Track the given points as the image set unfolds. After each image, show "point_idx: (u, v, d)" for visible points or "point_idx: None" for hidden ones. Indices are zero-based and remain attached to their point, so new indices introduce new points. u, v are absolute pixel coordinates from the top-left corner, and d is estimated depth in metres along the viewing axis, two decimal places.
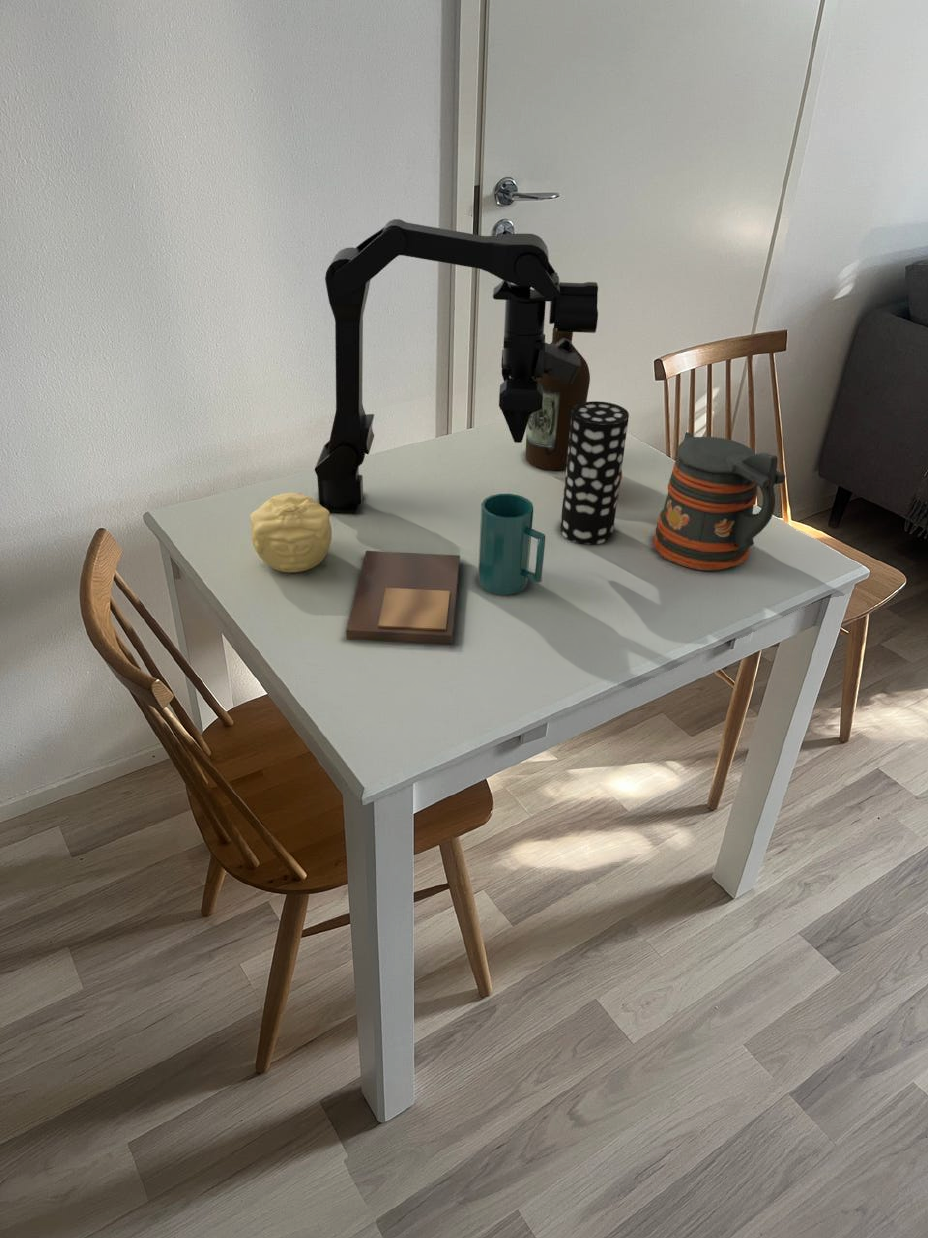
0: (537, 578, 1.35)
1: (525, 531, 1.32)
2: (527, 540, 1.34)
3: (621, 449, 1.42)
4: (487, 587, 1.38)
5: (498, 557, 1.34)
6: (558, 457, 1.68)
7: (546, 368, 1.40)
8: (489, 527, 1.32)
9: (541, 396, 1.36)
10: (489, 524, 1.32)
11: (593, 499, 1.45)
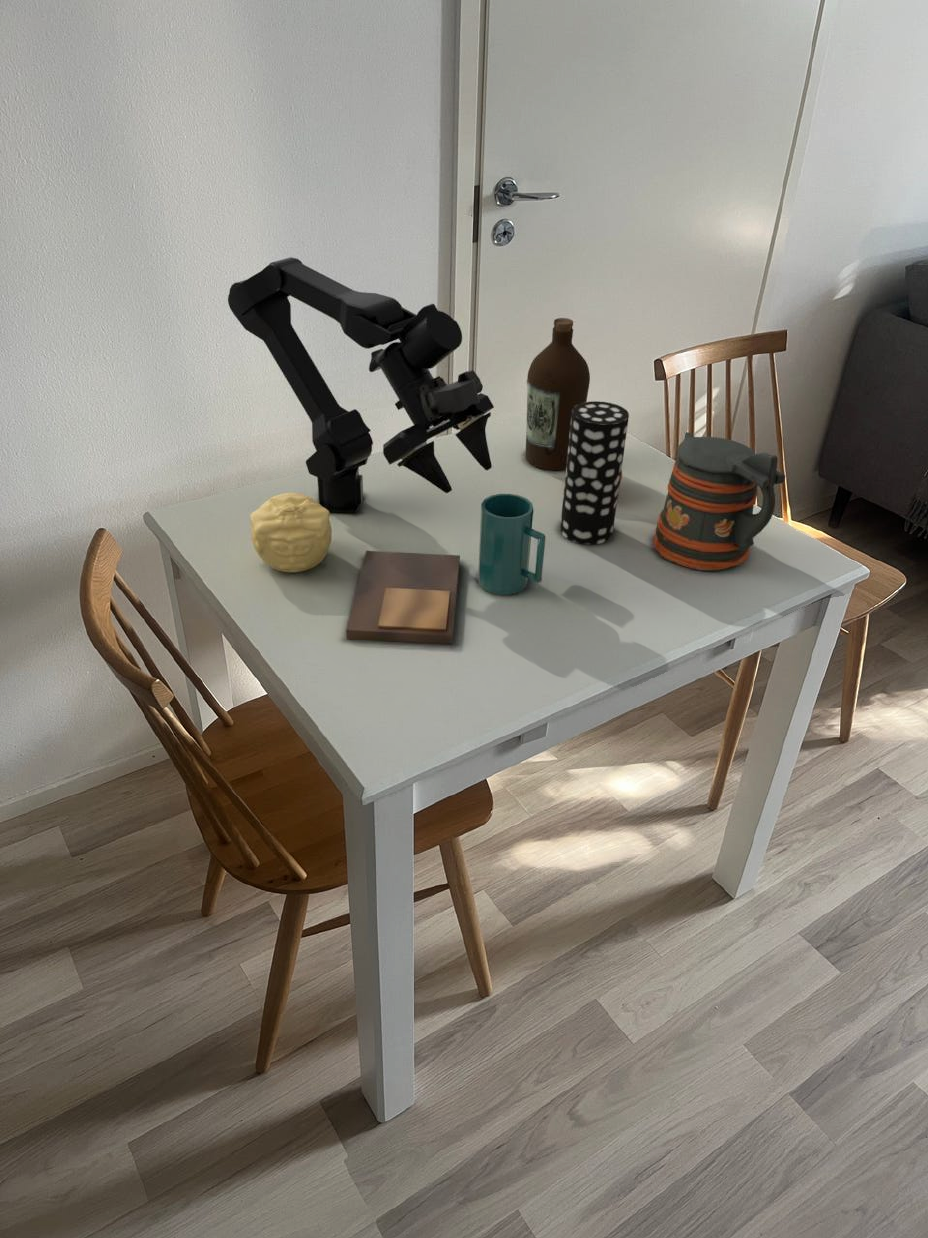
0: (537, 578, 1.35)
1: (525, 531, 1.32)
2: (527, 540, 1.34)
3: (621, 449, 1.42)
4: (487, 587, 1.38)
5: (498, 557, 1.34)
6: (558, 457, 1.68)
7: (432, 407, 1.31)
8: (489, 527, 1.32)
9: (406, 435, 1.28)
10: (489, 524, 1.32)
11: (593, 499, 1.45)
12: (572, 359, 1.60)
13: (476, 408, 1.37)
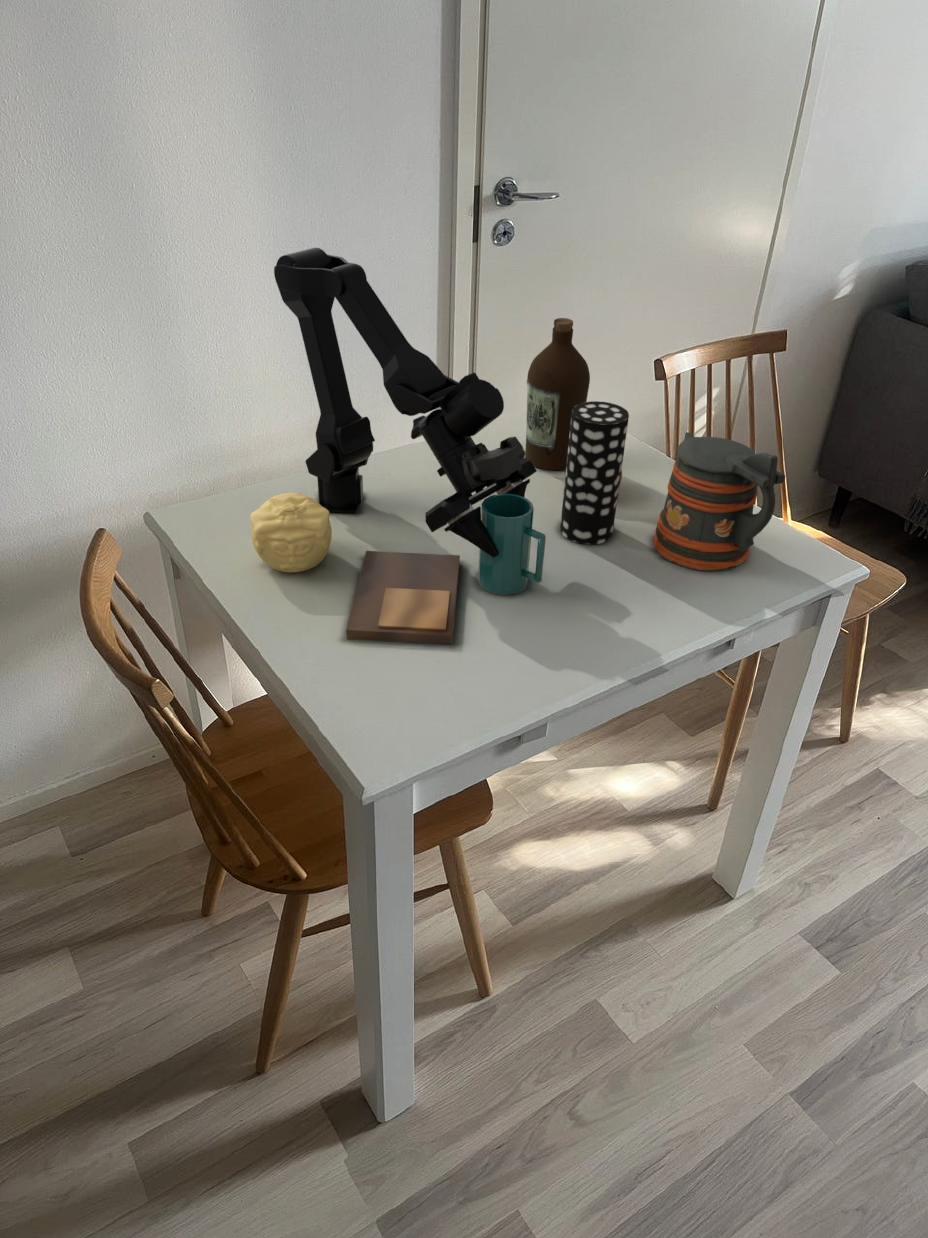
0: (537, 578, 1.35)
1: (525, 531, 1.32)
2: (527, 540, 1.34)
3: (621, 449, 1.42)
4: (488, 587, 1.38)
5: (498, 557, 1.34)
6: (558, 457, 1.68)
7: (474, 475, 1.31)
8: (489, 527, 1.32)
9: (448, 504, 1.27)
10: (489, 524, 1.32)
11: (593, 499, 1.45)
12: (572, 359, 1.60)
13: (519, 473, 1.36)
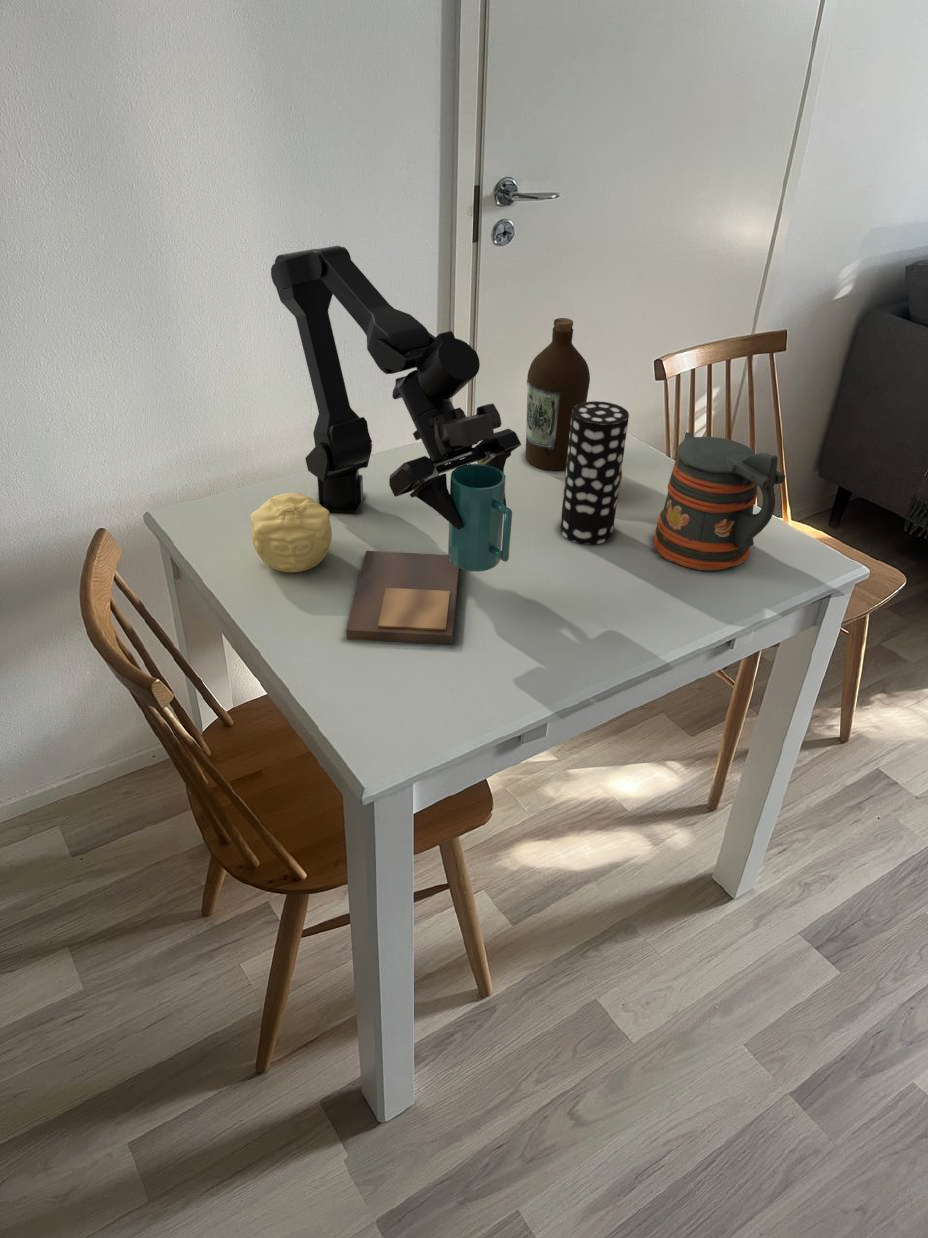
0: (503, 556, 1.26)
1: (493, 504, 1.24)
2: (496, 515, 1.26)
3: (621, 449, 1.42)
4: (454, 561, 1.30)
5: (464, 530, 1.26)
6: (558, 457, 1.68)
7: (443, 440, 1.24)
8: (455, 497, 1.25)
9: (408, 467, 1.21)
10: (455, 493, 1.25)
11: (593, 499, 1.45)
12: (572, 359, 1.60)
13: (498, 444, 1.28)
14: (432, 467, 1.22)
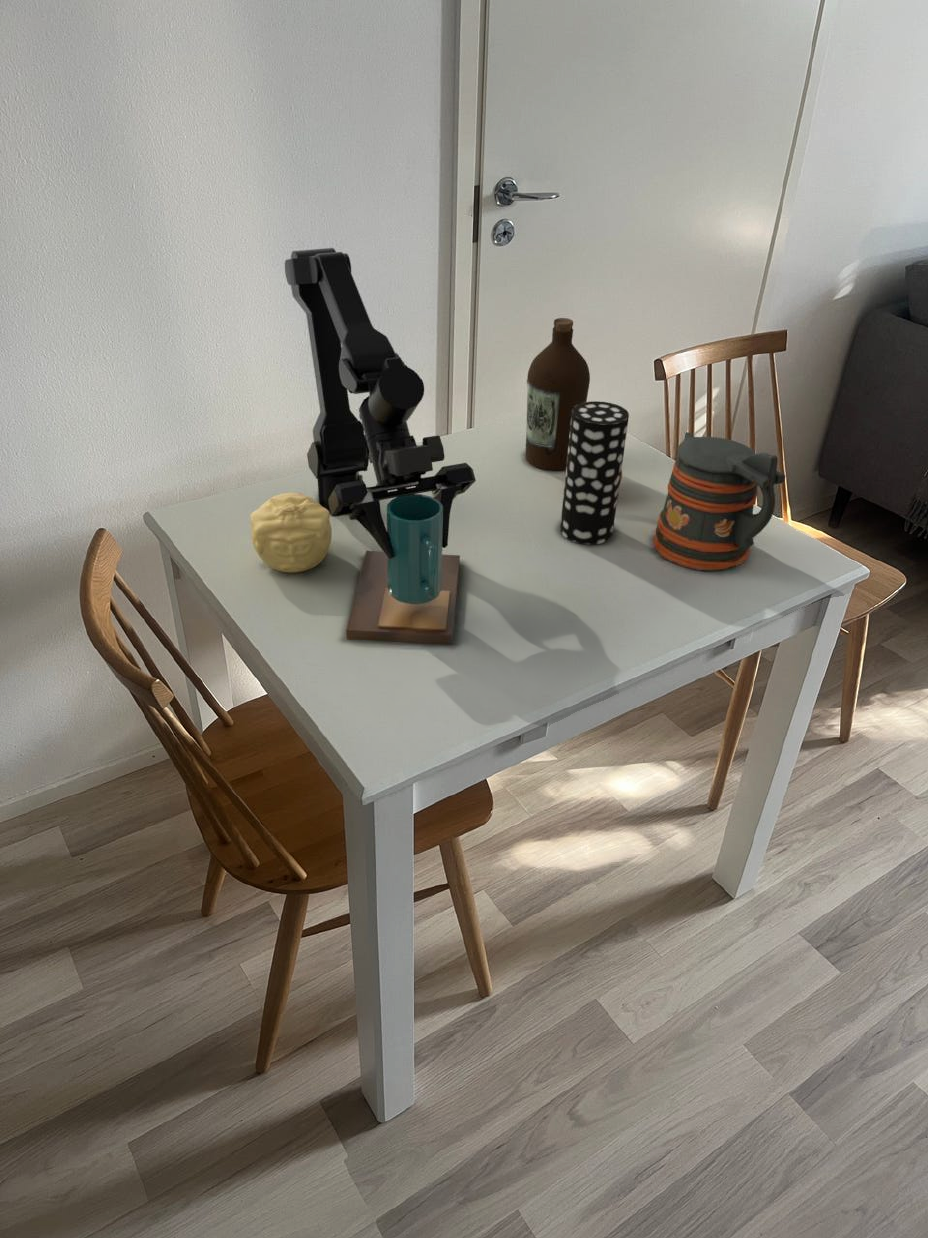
0: (429, 593, 1.23)
1: (422, 538, 1.21)
2: (427, 549, 1.22)
3: (621, 449, 1.42)
4: (389, 590, 1.28)
5: (395, 560, 1.24)
6: (558, 457, 1.68)
7: (383, 466, 1.22)
8: (388, 525, 1.22)
9: (338, 489, 1.20)
10: (388, 522, 1.22)
11: (593, 499, 1.45)
12: (572, 359, 1.60)
13: (447, 477, 1.25)
14: (365, 492, 1.21)
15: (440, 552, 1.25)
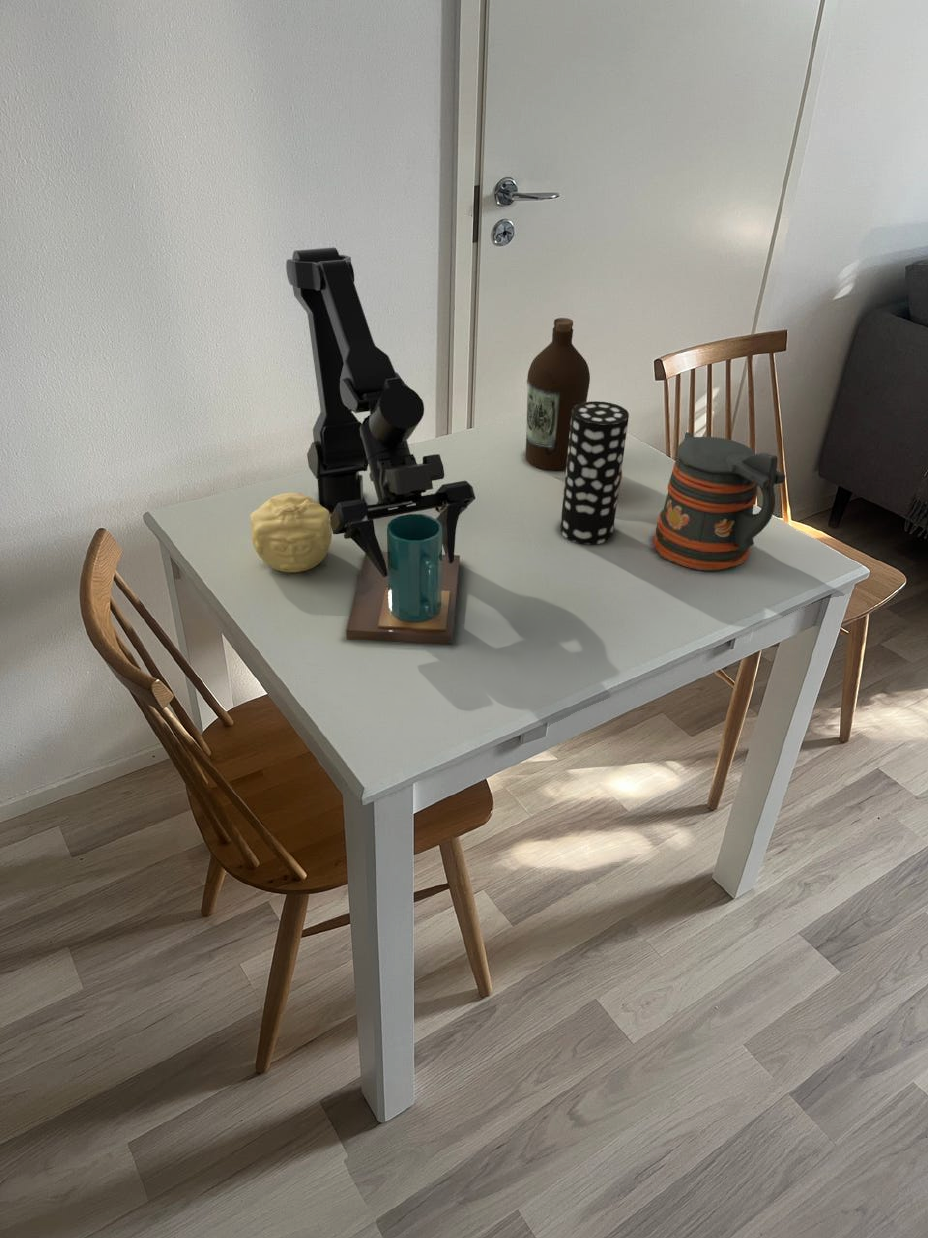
0: (429, 611, 1.24)
1: (421, 558, 1.22)
2: (427, 569, 1.24)
3: (621, 449, 1.42)
4: (390, 608, 1.30)
5: (395, 579, 1.25)
6: (558, 457, 1.68)
7: (383, 485, 1.23)
8: (388, 545, 1.24)
9: (340, 508, 1.21)
10: (388, 542, 1.24)
11: (593, 499, 1.45)
12: (572, 359, 1.60)
13: (447, 495, 1.26)
14: (366, 510, 1.22)
15: (440, 571, 1.26)
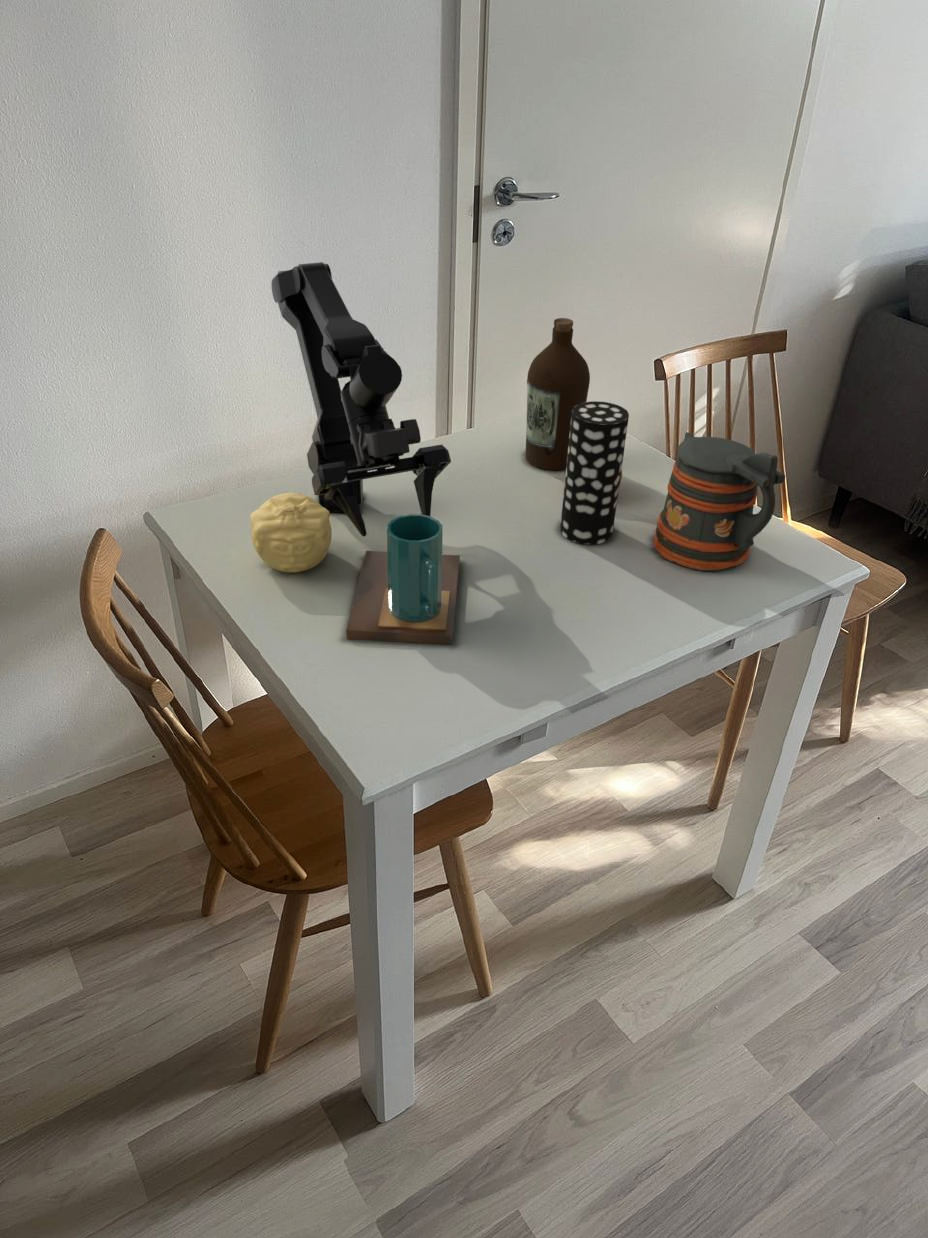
0: (429, 611, 1.24)
1: (421, 558, 1.22)
2: (427, 569, 1.24)
3: (621, 449, 1.42)
4: (390, 608, 1.30)
5: (395, 579, 1.25)
6: (558, 457, 1.68)
7: (363, 448, 1.29)
8: (388, 545, 1.24)
9: (321, 470, 1.27)
10: (388, 542, 1.24)
11: (593, 499, 1.45)
12: (572, 359, 1.60)
13: (424, 458, 1.32)
14: (345, 473, 1.28)
15: (440, 571, 1.26)
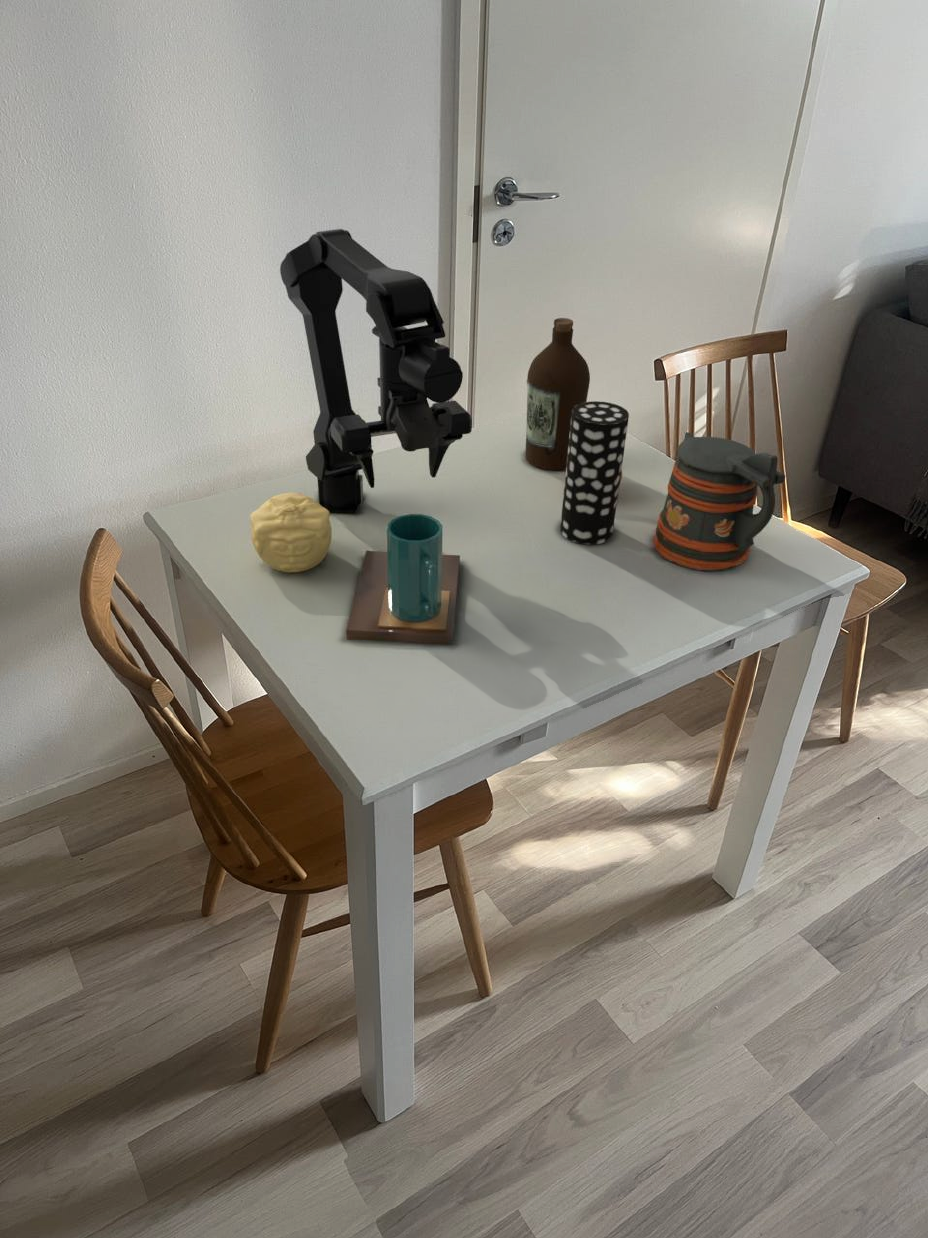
0: (429, 611, 1.24)
1: (421, 558, 1.22)
2: (427, 569, 1.24)
3: (621, 449, 1.42)
4: (390, 608, 1.30)
5: (395, 579, 1.25)
6: (558, 457, 1.68)
7: (391, 422, 1.27)
8: (388, 545, 1.24)
9: (345, 439, 1.26)
10: (388, 542, 1.24)
11: (593, 499, 1.45)
12: (572, 359, 1.60)
13: None
14: (368, 443, 1.28)
15: (440, 571, 1.26)
